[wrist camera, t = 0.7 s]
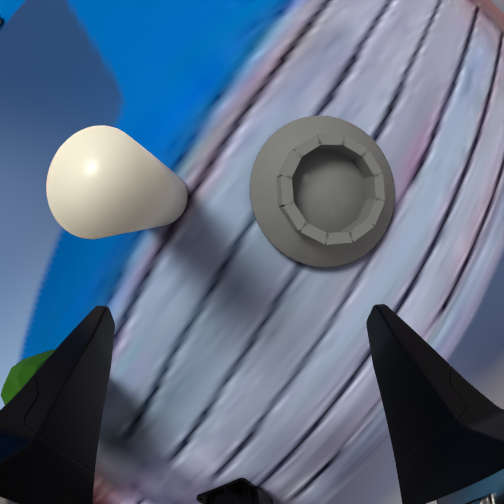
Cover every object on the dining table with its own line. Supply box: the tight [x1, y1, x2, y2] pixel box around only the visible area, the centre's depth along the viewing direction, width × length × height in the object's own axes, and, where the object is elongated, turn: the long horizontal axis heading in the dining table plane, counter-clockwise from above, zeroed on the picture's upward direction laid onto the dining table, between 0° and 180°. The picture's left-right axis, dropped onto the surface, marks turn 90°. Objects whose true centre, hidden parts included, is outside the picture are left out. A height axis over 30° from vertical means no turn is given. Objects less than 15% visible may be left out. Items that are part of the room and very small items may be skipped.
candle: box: [46, 126, 188, 239], centre depth 17 cm, size 4×4×13 cm
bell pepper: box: [1, 349, 56, 405], centre depth 20 cm, size 8×8×10 cm
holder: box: [250, 116, 395, 267], centre depth 23 cm, size 12×12×3 cm
